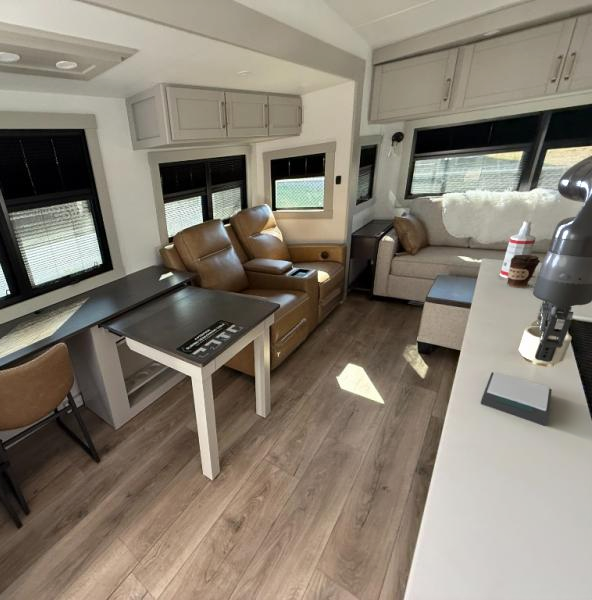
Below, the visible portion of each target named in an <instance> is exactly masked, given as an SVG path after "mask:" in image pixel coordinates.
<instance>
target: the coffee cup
mask: <svg viewBox="0 0 592 600" xmlns="http://www.w3.org/2000/svg"><path fill="white" fill-rule="evenodd" d="M539 258H540V257H539V256H536V255H532V254H531V255H515V256H514V257H513V258H512V259H511V264H510V268H509V274H508V278H507V282H506V284H507V285H508V286H510V287H513V288H521V289H522V288H523V289H525V288H528V286H529V282H530V280H531V279H532V278H533V277H534V274H535V272H536V269H537V267H538V266H539V264H540V262H541V261H540V259H539Z"/></svg>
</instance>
